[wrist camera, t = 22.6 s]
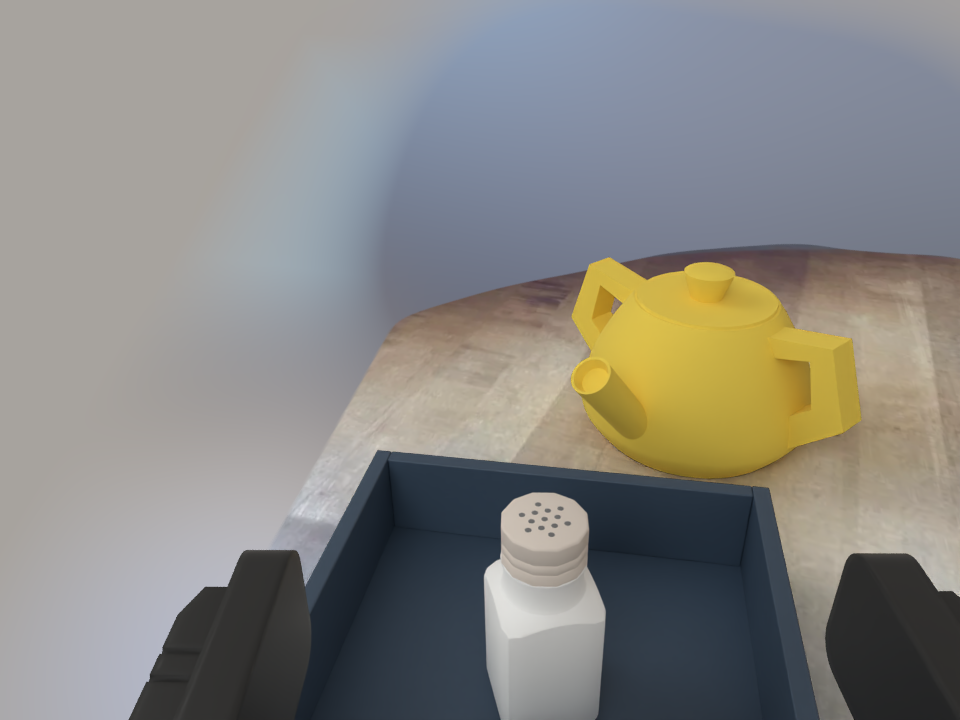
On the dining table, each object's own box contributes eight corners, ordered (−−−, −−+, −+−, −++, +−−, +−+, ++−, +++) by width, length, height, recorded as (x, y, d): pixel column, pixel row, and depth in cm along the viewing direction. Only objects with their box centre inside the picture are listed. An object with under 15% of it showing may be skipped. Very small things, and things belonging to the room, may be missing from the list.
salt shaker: (483, 666, 33) (478, 493, 29) (571, 648, 34) (579, 477, 29) (506, 748, 30) (503, 567, 25) (602, 727, 30) (618, 547, 26)
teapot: (462, 429, 50) (456, 274, 45) (635, 339, 61) (646, 206, 56) (731, 594, 37) (766, 403, 32) (890, 443, 48) (937, 281, 42)
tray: (211, 911, 25) (178, 823, 23) (385, 524, 42) (377, 449, 40) (833, 1048, 22) (872, 960, 19) (753, 566, 39) (769, 487, 36)
